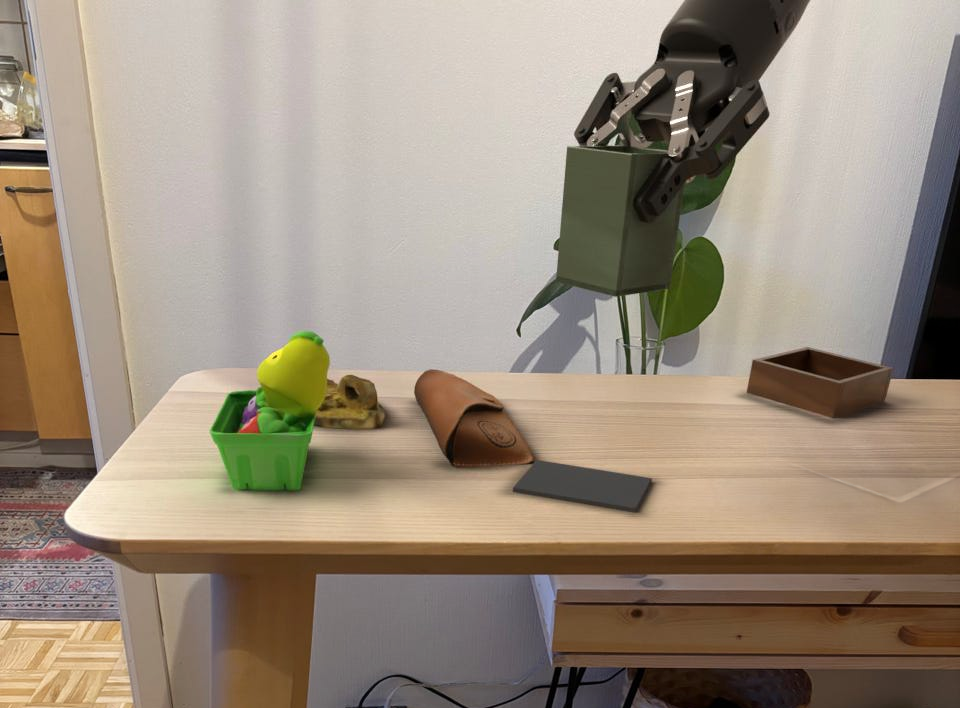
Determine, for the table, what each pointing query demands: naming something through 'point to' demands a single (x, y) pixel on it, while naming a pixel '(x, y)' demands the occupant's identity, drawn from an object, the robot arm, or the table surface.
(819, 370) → the brown open box
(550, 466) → the felt mat
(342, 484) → the table surface
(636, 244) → the green square pen holder
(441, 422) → the sunglasses case
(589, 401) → the table surface
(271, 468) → the fruit basket
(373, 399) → the tan lumpy piece
